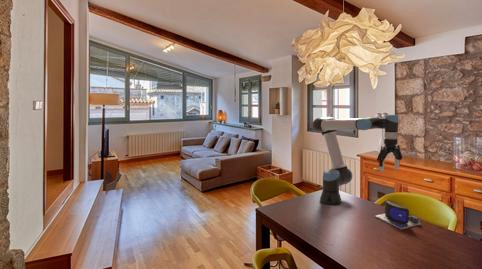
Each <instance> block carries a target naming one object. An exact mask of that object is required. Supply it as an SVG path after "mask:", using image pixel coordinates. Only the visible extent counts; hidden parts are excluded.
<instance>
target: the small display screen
mask: <svg viewBox="0 0 482 269" xmlns="http://www.w3.org/2000/svg"><path fill="white" fill-rule="evenodd" d="M384 202H385V203H384V214H385V215H386V216H387V217H389V218H390V219H392V220H395V221H397V222H400V223H405V224H407V223H408V221H409V216H410V210H409V208H408V207H404V206H402V205H399V204H397V203H395V202H392V201H390V200H385V201H384Z"/></svg>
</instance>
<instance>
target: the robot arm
mask: <svg viewBox="0 0 482 269" xmlns="http://www.w3.org/2000/svg"><path fill="white" fill-rule="evenodd" d="M311 126H312V129H313V131H315V132H316V133H321V136H322V137H324V139H325V143H326V147H327V151H328V154H329V157H330V161H331V164H332V167H331V169H325V170H324V171H323V173H322V191H321V195H320V197H319V201H320V203H322V204H324V205H328V206H338V205H341V204H342V197H341V194H340V187H341V186H343V185H347V184H349V183H350V182H352V180H353V172H352V171H351V170H350V169H349V168H348V166H347V165H346V164H345V162H344V158H343V155H342V152H341V149H340V145H339V141H338V137H337V132H338V131H352V130H353V131H356V130H357V131H367V130H373V129H381V130H384V135H383V136H384V138H383V144H384V145H382V146H381V147H380V151H379V153H378V155H377V158H376V161H377V162H378V164H379V165H378V166H379V169H378V170H379V172H381V173H382V172H383V173H384V171H385V159H386V158H387V157H388V155H389V154H391V153H392V156H394V158H395V159H394V170H400V162H401V160H402V159H403V154H402V152H401V148H400V145H399V144H398V134H399V115H398V114H385V115H384V117H382V116H381V117H378V116H377V117H376V116H369V117H364V118H363V117H361V118H343V119H342V118H341V119H340V118H339V119H336V118H334V117H332V116H325V117H323V116H322V117H317V118H315V119H314V120H313V121H312V124H311Z"/></svg>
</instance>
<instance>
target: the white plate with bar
mask: <svg viewBox="0 0 482 269" xmlns="http://www.w3.org/2000/svg"><path fill="white" fill-rule="evenodd" d="M375 218H376V219H378V220H380V221H381V222H384V223H386V224H389V225H390V226H393V227H395V228H397V229H399V230H404V229H405V230H406V229H408V228H409V229H410V228H413V227H416V226H420V225H421V219H420V217H418V216H415V215H409V221H408V223H407V224H405V223H400V222H397V221H395V220H392V219H390V218H389V217H387V216H386V215H385V213H381V214H377V215H375Z"/></svg>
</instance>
